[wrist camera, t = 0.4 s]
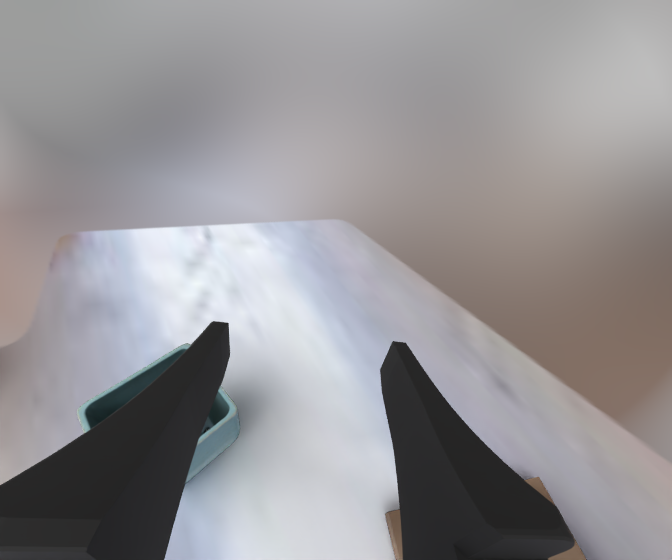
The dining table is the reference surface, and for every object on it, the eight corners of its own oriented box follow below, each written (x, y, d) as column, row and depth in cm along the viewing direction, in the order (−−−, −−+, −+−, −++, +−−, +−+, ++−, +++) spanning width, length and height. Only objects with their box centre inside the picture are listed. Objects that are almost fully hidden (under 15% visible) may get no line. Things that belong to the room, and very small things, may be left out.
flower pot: (127, 443, 27) (73, 407, 21) (211, 383, 32) (188, 340, 26) (165, 527, 23) (112, 514, 17) (255, 444, 28) (240, 410, 22)
